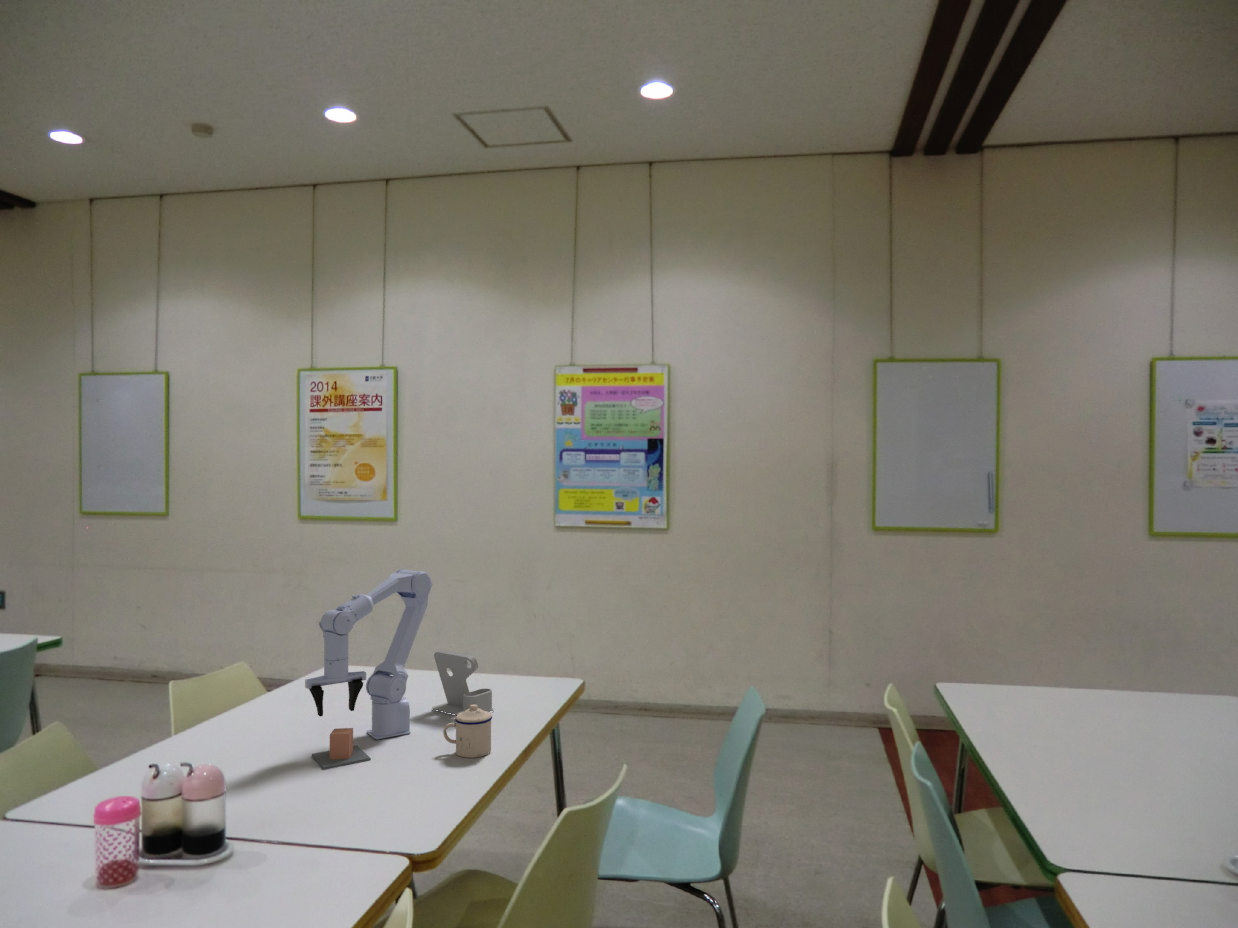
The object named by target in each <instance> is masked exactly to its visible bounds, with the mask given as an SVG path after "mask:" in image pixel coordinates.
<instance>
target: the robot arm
mask: <svg viewBox="0 0 1238 928" xmlns="http://www.w3.org/2000/svg"><path fill="white" fill-rule="evenodd" d="M432 587H433V582H432V579H431V577H430V574H429V573H428V572H427V571H424V570H411V569H404V568H400V569H397V570H396V571H395V572H392V573H390V574H389V577H388V578H386V579H385V580H384V581H383V582H381V583H380V584H378V585H377V586H376V587H374V588H373V589H372V590H370V591H369V592H368V593H366V594H364V593H359V594H357V593H354V594H353V595H352V596H351V598H350V599H349V600H347V601H346V602H345V603H342V604H339V605H337V608H336V609H329V610H327V611H326V612H324V613H323V615H322V617H321V619H320V621H319V622H318V625H319V628H320V630H321V631H322V637H323V639H324V640H323V641H324V643H323V644H324V646H323V657H324V658H323V663H324V664H323V671H324V672H323V675H320V676H316V677H312V678H306V679H305V680H304V688H306V689H307V690H309V692H310V694H311V696H312V698H313V701H314V703H315V706H316V711H317V716H319V717H323V716H324V706H323V705H324V704H323V703H324V693H325V691H324V690H323V687H324V686H331V685H336V684H343V683H347V686H348V710H349V711H350V712H353V711H355V706H356V702H357V699H358V697H359V694H360V692H361V690H362V688H363V686H364V681H366V684H365V690H366V693H367V694H368V696H370V700H371V729H367V730H366V733H367V734H369V735H370V736H371V738H372V739H374V740H381V739H387V738H392V737H397V736H398V737H399V736H403V735H409V734H411V731H410V725H411V721H410V720H411V715H410V714H411V712H410V711H411V708H410V702H409V700H408V698H407V697H406V696H405V697H404V695H405V693H406V690H407V681H408V678H409V674H408V673H407V670H406V669H405V666H406V662H407V660H408V657H409V655H410V652H411V650H412V647H413V645H414V642H415V640H416V636H417V634H418V631H419V629H420V625H421V623H422V622H423V618H424V616H425V613H426V611H427V607H428V603H429V602H428V601H429V595H430V592H431V590H432ZM393 594H397V595H398V596H399V598H400V599H401V600H402V601H403V603H404V605H405V607H404V610H403V612H402V615H401V617H400V621H399V623H398V626H397V628H396V630H395V634H394V636H393V638H392V640H391V643H390V646H389V649H388V651H387V653H386V656H385V658H384V660H383V661H382V662H381V663H380V664H378V665H377V666H376V667H375V668H374V670H373V672H372V673H371V675H369V677H368V679H367V672H366V671H365V670H363V671H349V633H350V632H351V631H352V630H353V628H354V625H355V624H356V623H357V622H359V621H361V620H362V619H364V617H365V618H366V616H368V615H369V614H371V613H372V612H373V610H374V606H375V605H376V604H378V603H380V602H382V601H383V600H386V599H387V598H389V597H391V596H392V595H393Z"/></svg>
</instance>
